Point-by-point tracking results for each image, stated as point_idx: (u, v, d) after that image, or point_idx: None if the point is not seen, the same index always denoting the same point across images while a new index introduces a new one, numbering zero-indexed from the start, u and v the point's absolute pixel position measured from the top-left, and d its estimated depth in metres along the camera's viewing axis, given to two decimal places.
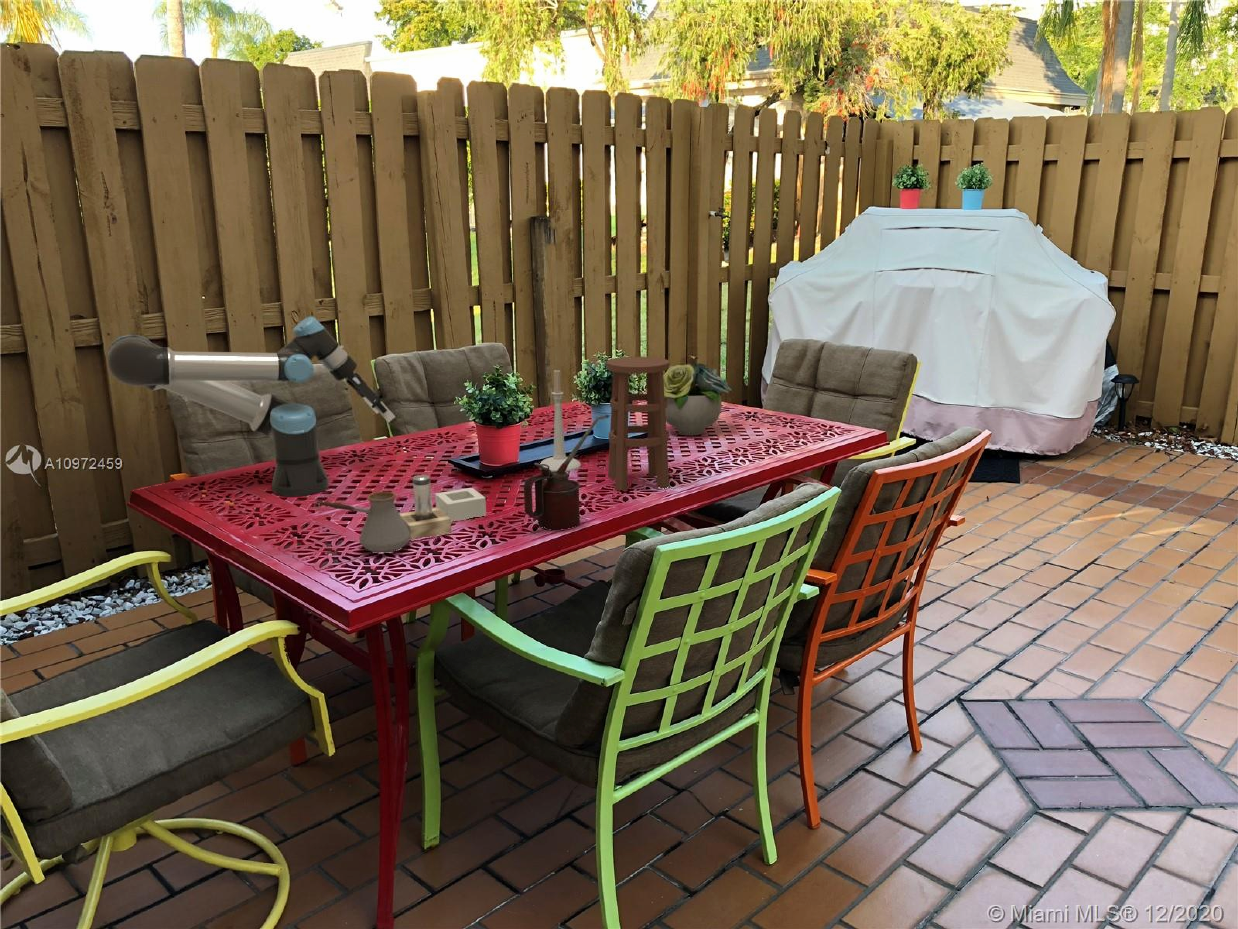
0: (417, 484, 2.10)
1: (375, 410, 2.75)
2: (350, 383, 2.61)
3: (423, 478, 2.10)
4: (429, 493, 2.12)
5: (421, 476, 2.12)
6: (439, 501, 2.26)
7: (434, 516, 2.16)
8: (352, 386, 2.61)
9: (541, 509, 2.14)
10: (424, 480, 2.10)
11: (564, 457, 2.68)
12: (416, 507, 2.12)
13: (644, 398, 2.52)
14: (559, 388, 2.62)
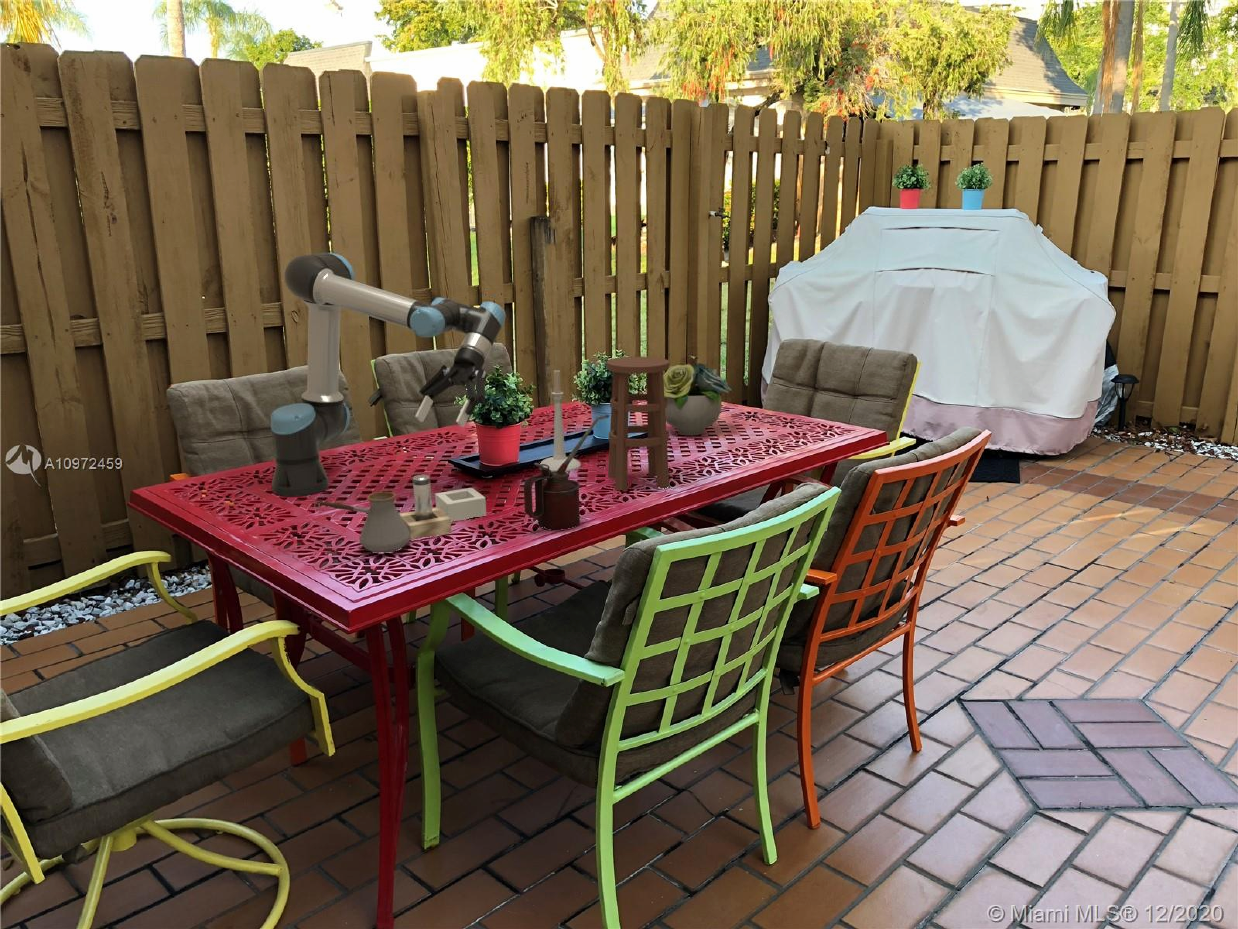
0: (417, 484, 2.10)
1: (419, 413, 2.28)
2: (465, 370, 2.28)
3: (423, 478, 2.10)
4: (429, 493, 2.12)
5: (421, 476, 2.12)
6: (439, 501, 2.26)
7: (434, 516, 2.16)
8: (463, 373, 2.28)
9: (541, 509, 2.14)
10: (424, 480, 2.10)
11: (564, 457, 2.68)
12: (416, 507, 2.12)
13: (644, 398, 2.52)
14: (559, 388, 2.62)
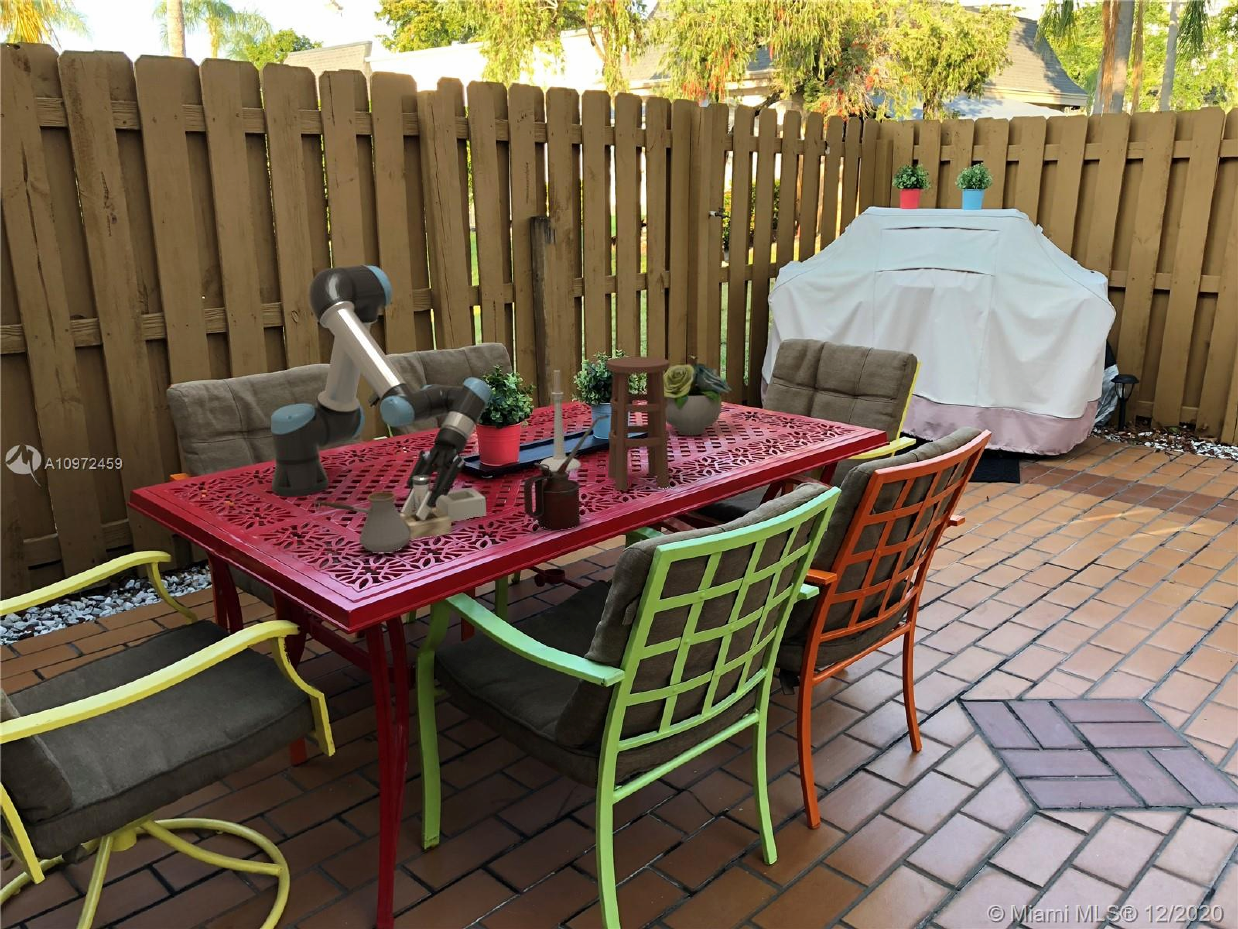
0: (417, 484, 2.10)
1: (406, 508, 2.11)
2: (445, 454, 2.15)
3: (423, 478, 2.10)
4: None
5: (421, 476, 2.12)
6: (439, 501, 2.26)
7: (434, 516, 2.16)
8: (442, 457, 2.15)
9: (541, 509, 2.14)
10: (424, 480, 2.10)
11: (564, 457, 2.68)
12: (416, 507, 2.12)
13: (644, 398, 2.52)
14: (559, 388, 2.62)
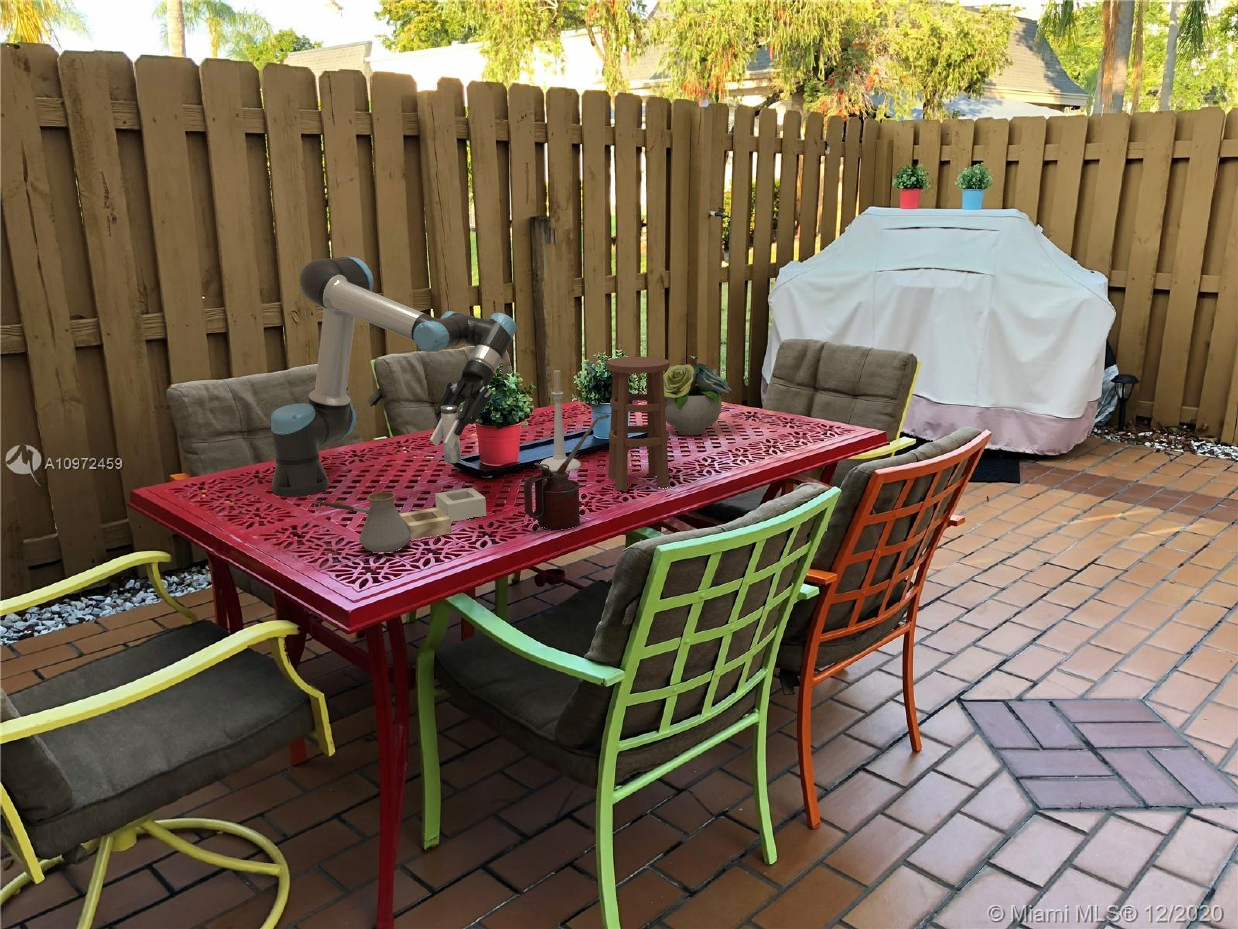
0: (445, 413, 2.16)
1: (434, 437, 2.18)
2: (472, 385, 2.21)
3: (451, 407, 2.17)
4: None
5: (449, 406, 2.18)
6: (439, 501, 2.26)
7: (434, 516, 2.16)
8: (469, 388, 2.21)
9: (541, 509, 2.14)
10: (452, 409, 2.16)
11: (564, 457, 2.68)
12: (444, 436, 2.18)
13: (644, 398, 2.52)
14: (559, 388, 2.62)
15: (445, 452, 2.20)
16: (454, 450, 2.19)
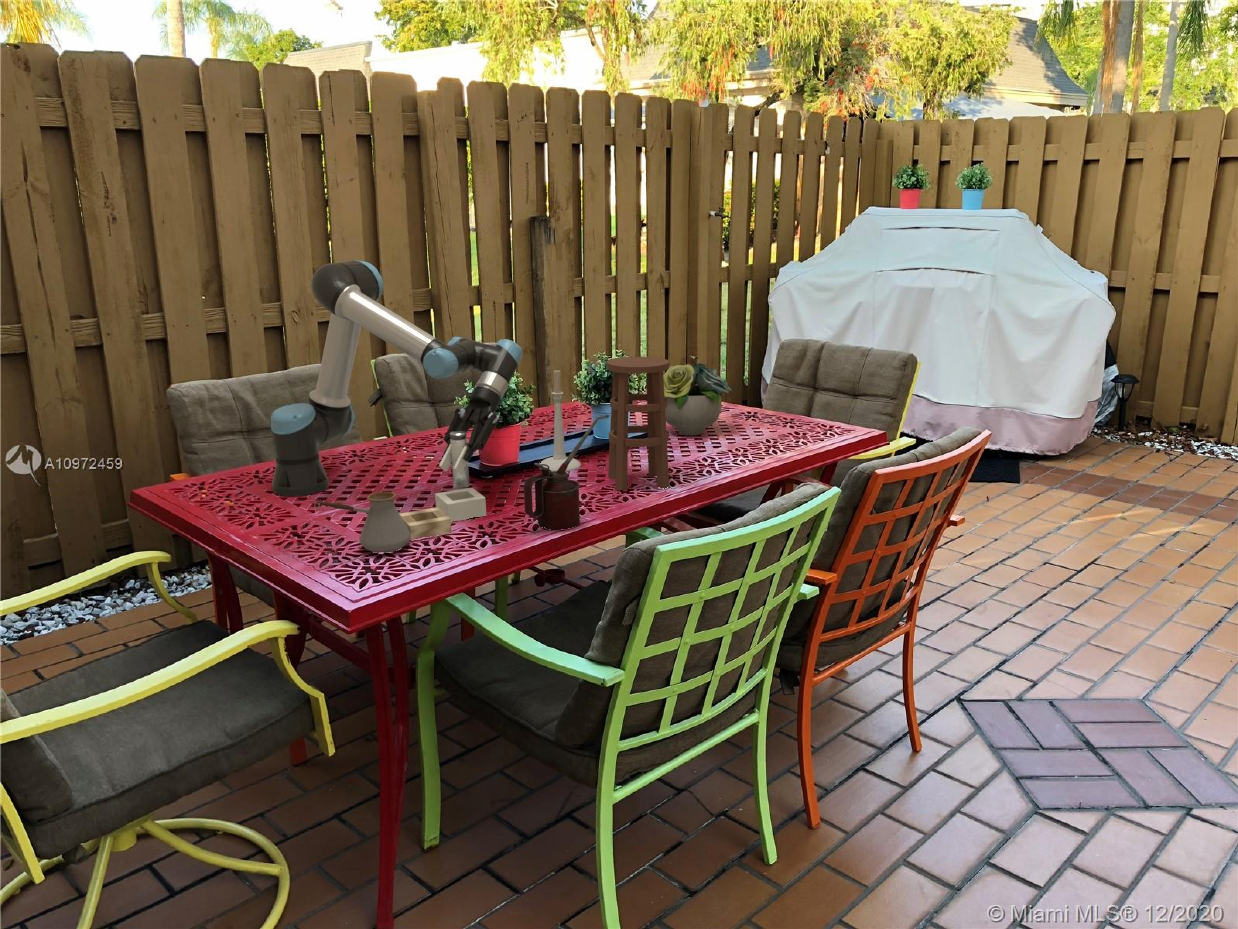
0: (454, 439, 2.20)
1: (443, 462, 2.21)
2: (480, 411, 2.25)
3: (460, 433, 2.20)
4: None
5: (458, 432, 2.22)
6: (439, 501, 2.26)
7: (434, 516, 2.16)
8: (477, 414, 2.25)
9: (541, 509, 2.14)
10: (461, 435, 2.20)
11: (564, 457, 2.68)
12: (453, 461, 2.22)
13: (644, 398, 2.52)
14: (559, 388, 2.62)
15: (454, 477, 2.23)
16: (463, 475, 2.23)
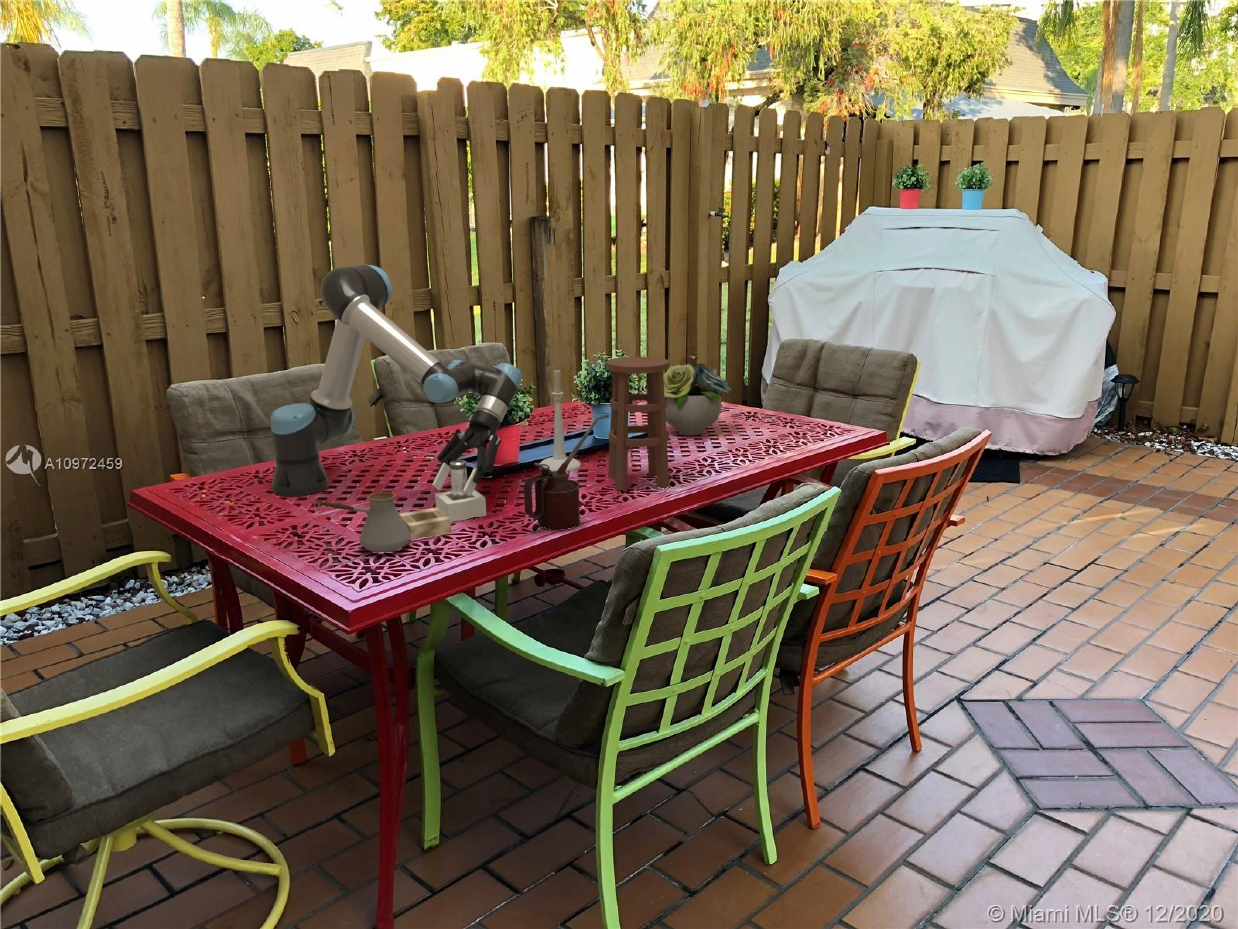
0: (454, 468, 2.22)
1: (437, 481, 2.25)
2: (480, 435, 2.27)
3: (460, 463, 2.23)
4: (465, 477, 2.24)
5: (458, 461, 2.24)
6: (439, 501, 2.26)
7: (434, 516, 2.16)
8: (478, 437, 2.27)
9: (541, 509, 2.14)
10: (461, 465, 2.22)
11: (564, 457, 2.68)
12: (453, 490, 2.24)
13: (644, 398, 2.52)
14: (559, 388, 2.62)
15: None
16: None
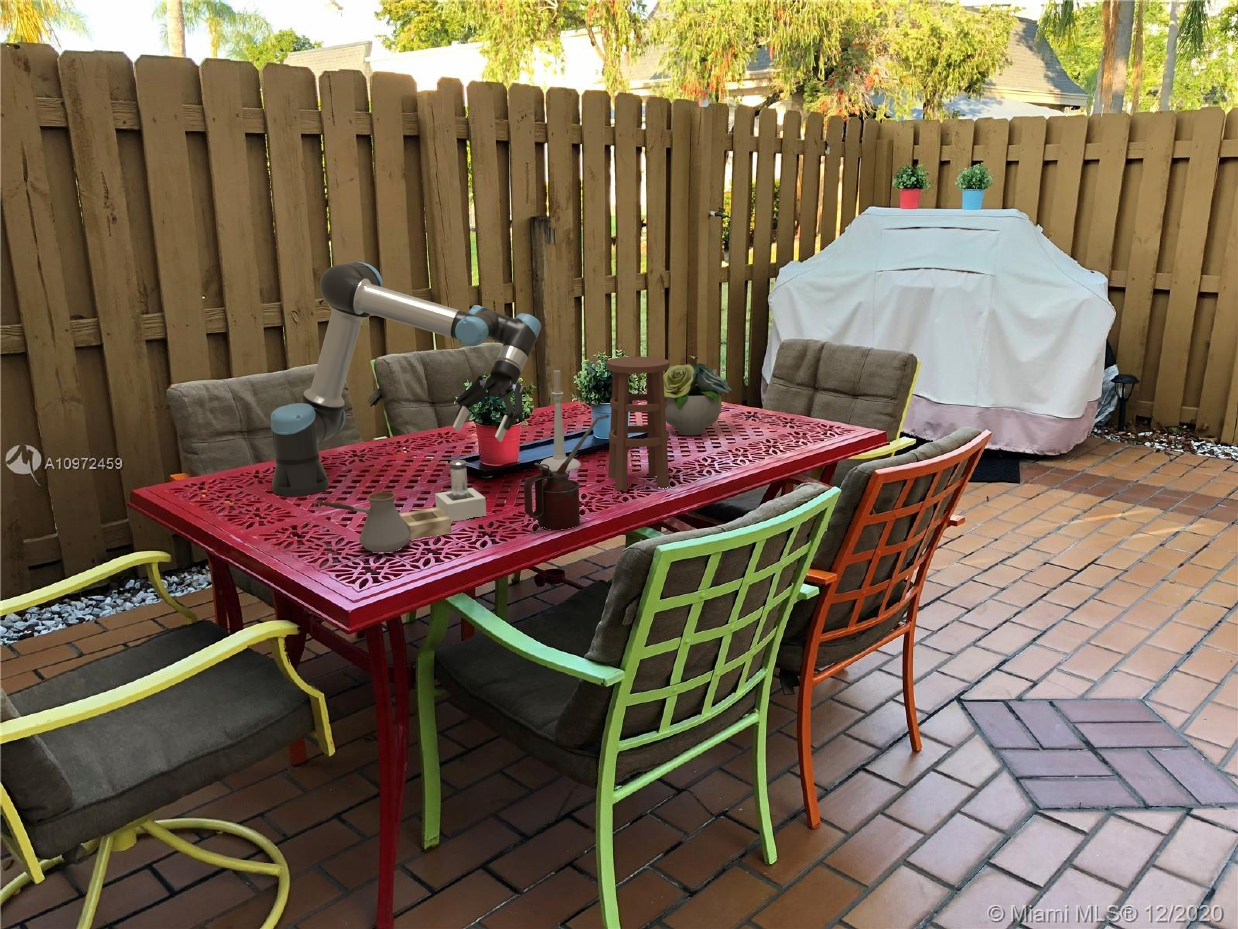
0: (454, 468, 2.22)
1: (457, 424, 2.34)
2: (503, 384, 2.34)
3: (460, 463, 2.23)
4: (465, 477, 2.24)
5: (458, 461, 2.24)
6: (439, 501, 2.26)
7: (434, 516, 2.16)
8: (501, 387, 2.34)
9: (541, 509, 2.14)
10: (461, 465, 2.22)
11: (564, 457, 2.68)
12: (453, 490, 2.24)
13: (644, 398, 2.52)
14: (559, 388, 2.62)
15: None
16: None
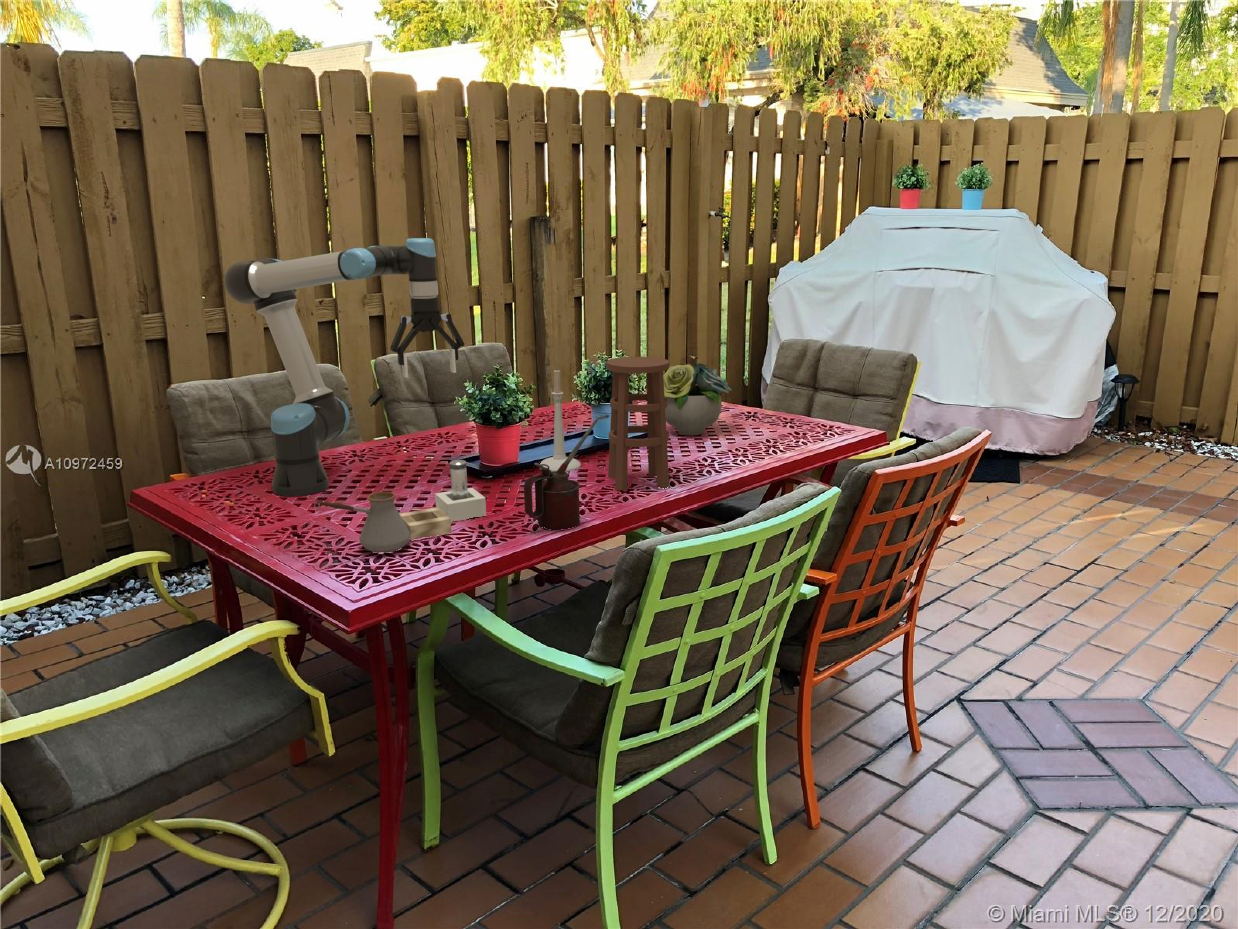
0: (454, 468, 2.22)
1: (407, 373, 2.40)
2: (434, 320, 2.40)
3: (460, 463, 2.23)
4: (465, 477, 2.24)
5: (458, 461, 2.24)
6: (439, 501, 2.26)
7: (434, 516, 2.16)
8: (435, 324, 2.40)
9: (541, 509, 2.14)
10: (461, 465, 2.22)
11: (564, 457, 2.68)
12: (453, 490, 2.24)
13: (644, 398, 2.52)
14: (559, 388, 2.62)
15: None
16: None
